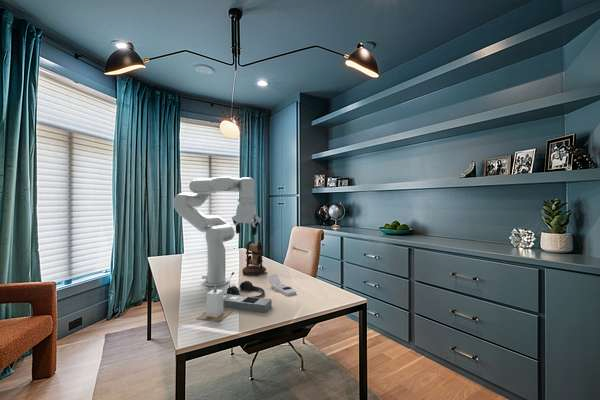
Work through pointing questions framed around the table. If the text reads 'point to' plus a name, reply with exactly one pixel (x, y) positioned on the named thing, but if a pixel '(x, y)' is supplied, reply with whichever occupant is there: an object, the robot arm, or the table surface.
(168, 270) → the table surface
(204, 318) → the coaster
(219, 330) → the table surface
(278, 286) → the light grey elongated piece
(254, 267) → the brown lantern
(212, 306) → the charger
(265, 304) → the power strip
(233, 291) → the headset
